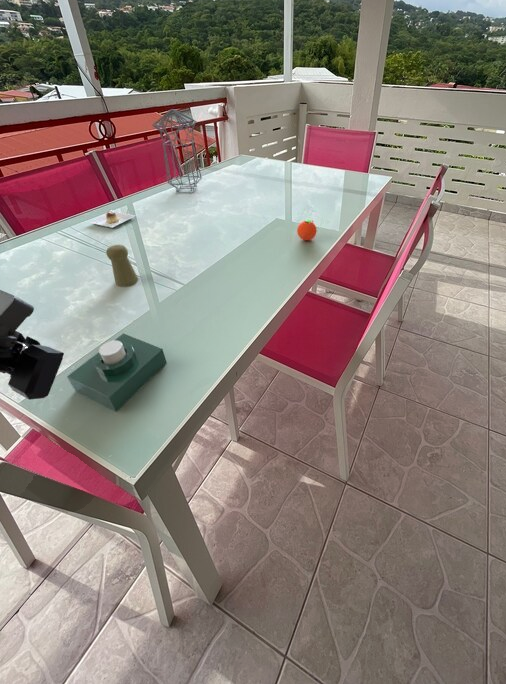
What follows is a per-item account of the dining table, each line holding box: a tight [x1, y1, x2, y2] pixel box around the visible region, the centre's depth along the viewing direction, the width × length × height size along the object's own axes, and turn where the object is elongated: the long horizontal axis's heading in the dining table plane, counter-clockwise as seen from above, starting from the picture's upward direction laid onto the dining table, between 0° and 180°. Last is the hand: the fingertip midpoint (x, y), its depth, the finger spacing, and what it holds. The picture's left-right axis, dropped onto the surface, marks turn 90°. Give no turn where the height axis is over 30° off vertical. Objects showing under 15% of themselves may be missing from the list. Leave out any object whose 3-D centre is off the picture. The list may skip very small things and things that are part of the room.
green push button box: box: [66, 332, 168, 413], centre depth 65 cm, size 13×11×6 cm
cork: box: [105, 244, 139, 288], centre depth 92 cm, size 6×6×11 cm
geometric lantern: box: [151, 108, 203, 194], centre depth 151 cm, size 16×16×35 cm
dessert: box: [87, 209, 136, 229], centre depth 128 cm, size 12×12×5 cm
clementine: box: [296, 219, 318, 241], centre depth 117 cm, size 8×7×7 cm
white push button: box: [98, 339, 126, 365], centre depth 63 cm, size 4×4×2 cm
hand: (61, 355), depth 54 cm, fingers closed
